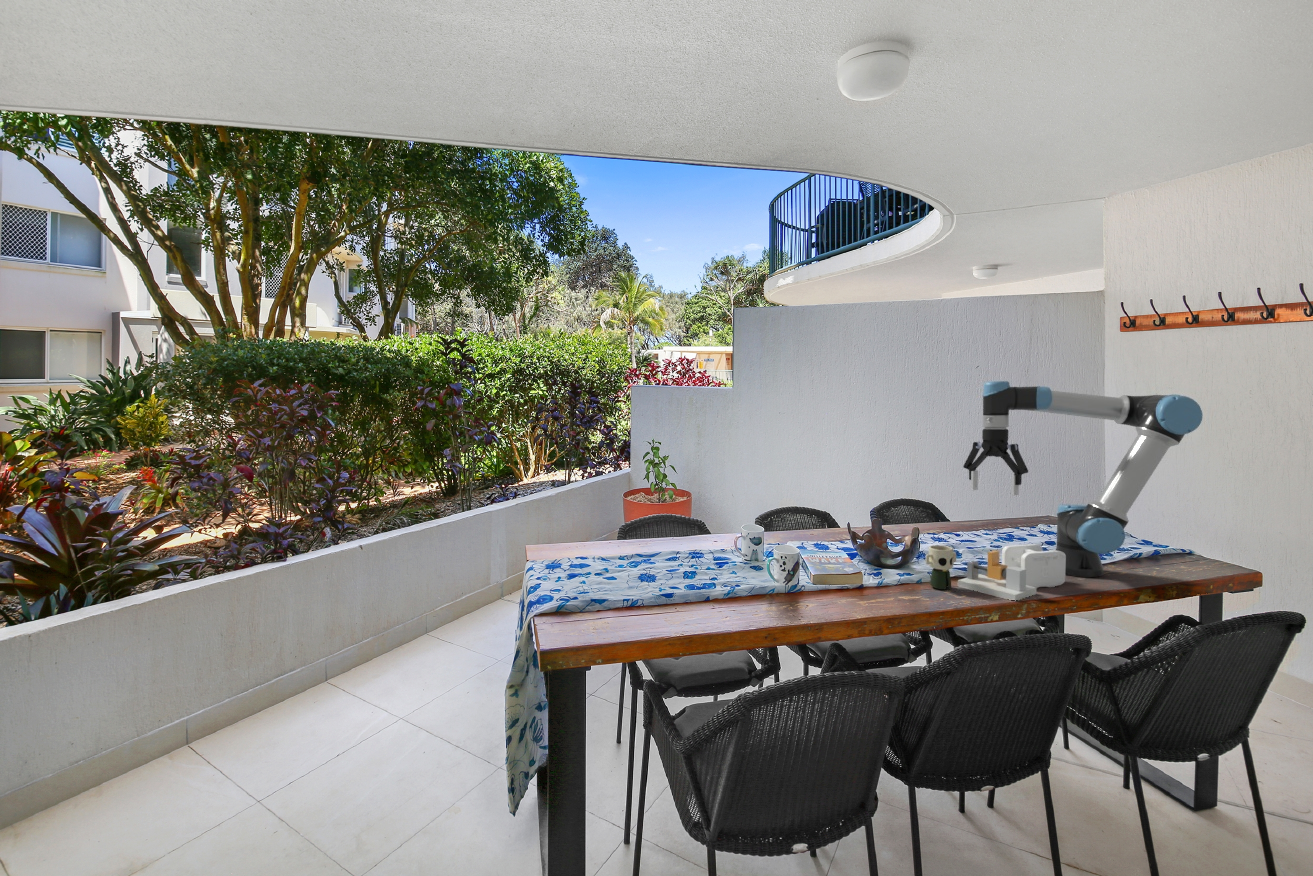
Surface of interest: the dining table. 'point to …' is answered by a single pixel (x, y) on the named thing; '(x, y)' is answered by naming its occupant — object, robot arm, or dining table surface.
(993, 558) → the sleeve
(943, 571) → the character mug
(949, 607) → the dining table surface
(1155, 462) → the robot arm
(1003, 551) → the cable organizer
